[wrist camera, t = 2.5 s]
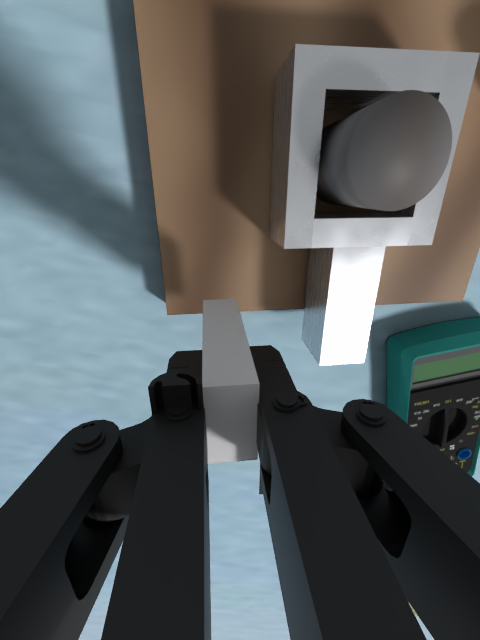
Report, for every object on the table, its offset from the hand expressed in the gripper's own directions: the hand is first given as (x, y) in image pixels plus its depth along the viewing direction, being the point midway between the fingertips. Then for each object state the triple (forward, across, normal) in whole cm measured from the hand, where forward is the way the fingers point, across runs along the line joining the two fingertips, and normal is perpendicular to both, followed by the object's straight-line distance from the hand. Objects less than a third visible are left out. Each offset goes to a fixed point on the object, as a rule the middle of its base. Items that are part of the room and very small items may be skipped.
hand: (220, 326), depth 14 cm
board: (+5, +6, +7) cm, 10 cm away
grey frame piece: (+3, +6, +4) cm, 8 cm away
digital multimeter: (+5, +16, -10) cm, 20 cm away
